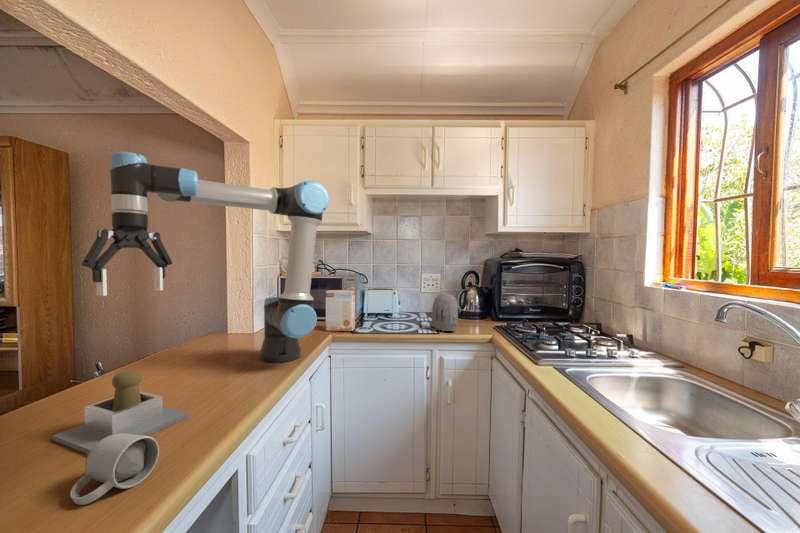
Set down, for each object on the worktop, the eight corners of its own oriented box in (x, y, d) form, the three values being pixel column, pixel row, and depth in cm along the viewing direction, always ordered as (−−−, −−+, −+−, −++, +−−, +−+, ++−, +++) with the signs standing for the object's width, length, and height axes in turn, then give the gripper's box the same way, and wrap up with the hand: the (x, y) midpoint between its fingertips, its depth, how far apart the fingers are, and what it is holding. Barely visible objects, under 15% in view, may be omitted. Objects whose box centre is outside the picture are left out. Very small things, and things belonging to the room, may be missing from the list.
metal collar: (135, 410, 83) (135, 389, 83) (162, 417, 79) (162, 396, 79) (84, 429, 74) (84, 406, 73) (112, 439, 70) (112, 415, 70)
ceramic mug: (127, 462, 64) (126, 422, 63) (160, 470, 61) (159, 428, 61) (56, 502, 54) (54, 454, 53) (93, 513, 51) (90, 464, 51)
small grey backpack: (460, 332, 174) (461, 293, 174) (450, 335, 168) (451, 294, 168) (437, 327, 185) (438, 291, 184) (427, 330, 179) (427, 292, 179)
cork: (115, 417, 79) (115, 369, 79) (147, 412, 81) (147, 366, 81) (105, 428, 74) (104, 377, 74) (139, 423, 76) (139, 373, 76)
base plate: (145, 405, 88) (145, 401, 88) (188, 417, 82) (188, 413, 82) (52, 440, 71) (52, 435, 71) (97, 458, 65) (97, 453, 65)
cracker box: (355, 330, 178) (355, 290, 178) (352, 332, 172) (352, 291, 172) (329, 329, 180) (329, 289, 179) (325, 331, 174) (325, 290, 173)
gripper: (168, 218, 104) (169, 287, 105) (61, 207, 81) (64, 297, 82) (185, 217, 101) (186, 288, 102) (79, 205, 78) (82, 298, 79)
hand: (132, 292), depth 92 cm, fingers open, 13 cm apart
